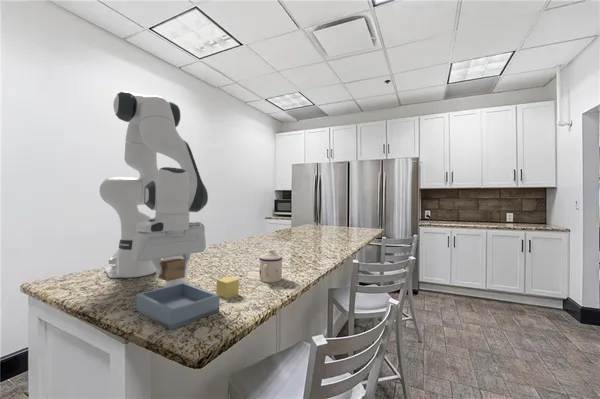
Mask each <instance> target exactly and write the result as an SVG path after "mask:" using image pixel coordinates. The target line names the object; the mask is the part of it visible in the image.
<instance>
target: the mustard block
mask: <svg viewBox="0 0 600 399" xmlns="http://www.w3.org/2000/svg"><path fill="white" fill-rule="evenodd" d="M239 284H240V279H239V278H236V277H232V276H226V277H222V278H219V279H217V280H216V291H215V292H216V293H215V294H218V295H220V297H221V298H224V299H229V298H232V297H235V296H237V295H239V287H240V285H239Z"/></svg>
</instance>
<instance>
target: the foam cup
mask: <svg viewBox="0 0 600 399" xmlns="http://www.w3.org/2000/svg"><path fill="white" fill-rule="evenodd" d="M191 256H192V254H190V257H191ZM170 258H180V259H183V258H184V257H182V255H180V256H173V257H167V258H162V260H164V259H170ZM190 260H191V258H190V259H189V260H188V262H187V264H186V270H185V277H184V278H179V279H175V280H171V281H166V280H164V281H165V287H167V286H171V285H176V284H180V283H184V282H185V283H187V278H188V273H189V272H188V271H189V267H190V266H189V265H190Z"/></svg>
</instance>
